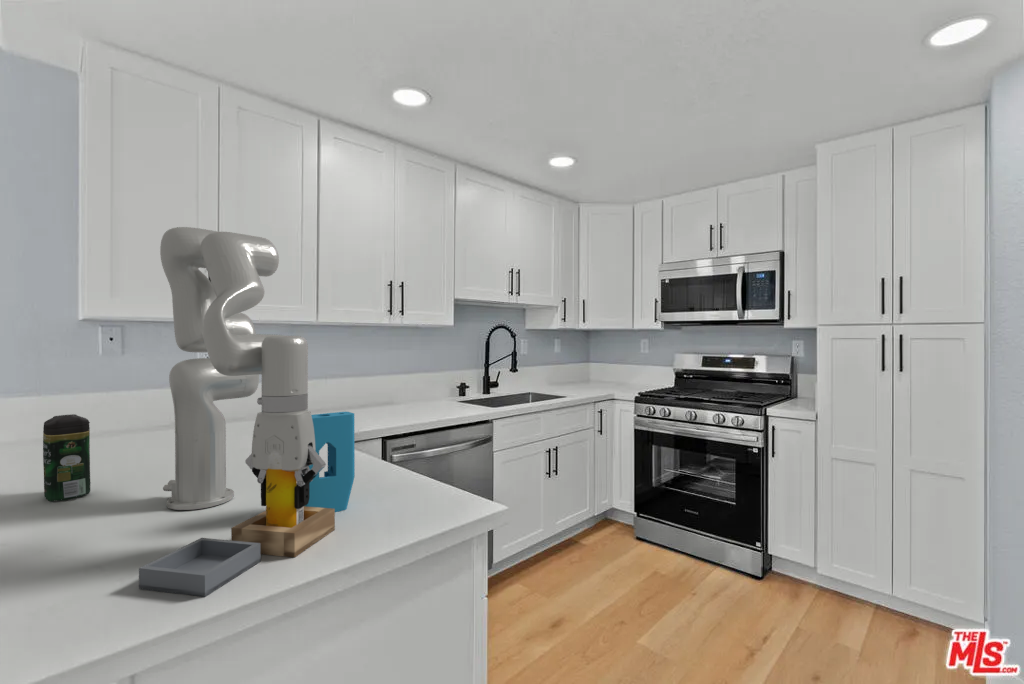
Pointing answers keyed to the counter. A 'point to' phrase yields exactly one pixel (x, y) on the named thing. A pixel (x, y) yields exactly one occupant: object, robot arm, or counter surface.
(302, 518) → the beer can
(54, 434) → the coffee jar
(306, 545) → the shallow wooden box
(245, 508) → the counter surface
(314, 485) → the block
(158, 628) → the counter surface
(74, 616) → the counter surface
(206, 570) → the tray
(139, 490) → the counter surface
